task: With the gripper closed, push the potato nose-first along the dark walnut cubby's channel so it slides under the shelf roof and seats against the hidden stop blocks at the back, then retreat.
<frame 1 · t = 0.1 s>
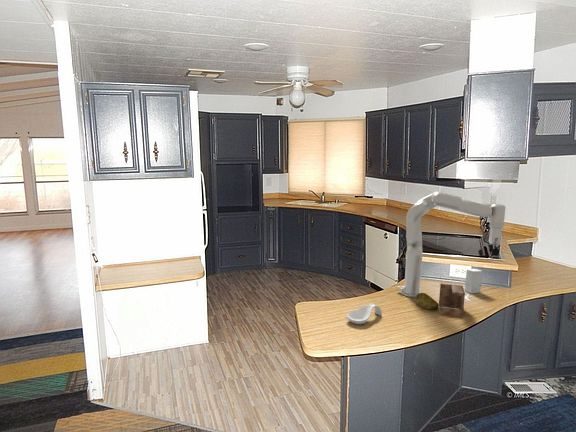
hand: (493, 253, 250), 31 cm above the table, fingers open, 9 cm apart
skincare box: (472, 292, 276), on the table
cubby: (450, 310, 242), on the table
spoon rest: (364, 320, 227), on the table
potato: (426, 308, 246), on the table
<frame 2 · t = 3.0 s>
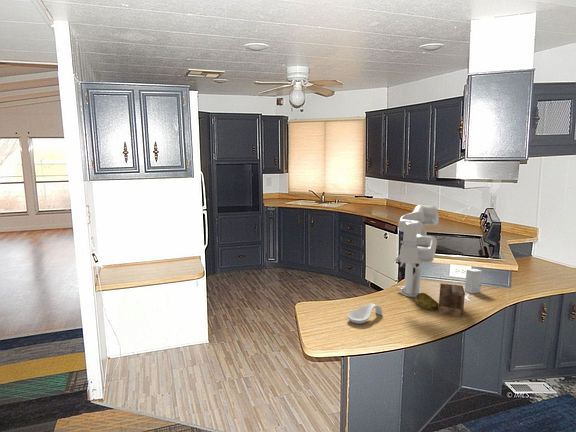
hand: (407, 273, 246), 20 cm above the table, fingers open, 5 cm apart
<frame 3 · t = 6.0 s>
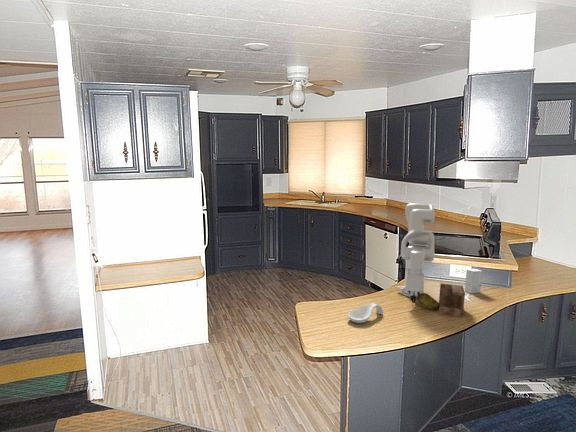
hand: (413, 301, 248), 3 cm above the table, fingers closed
potato: (427, 308, 246), on the table, touching gripper
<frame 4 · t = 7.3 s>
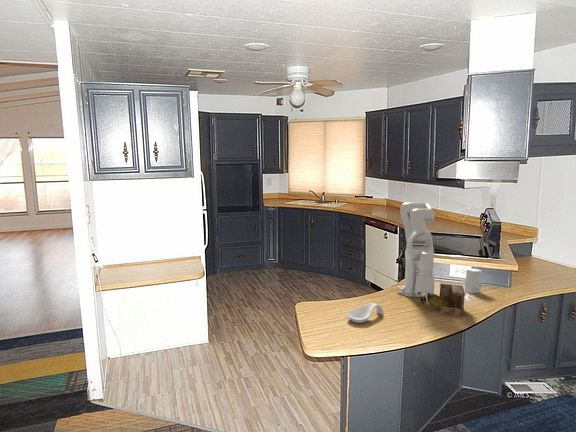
hand: (423, 302, 246), 3 cm above the table, fingers closed
potato: (437, 309, 244), on the table, touching gripper
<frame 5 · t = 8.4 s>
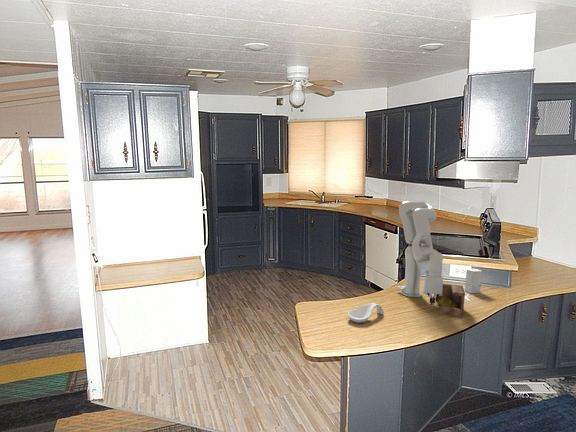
hand: (432, 304, 245), 3 cm above the table, fingers closed
potato: (446, 310, 243), on the table, touching gripper
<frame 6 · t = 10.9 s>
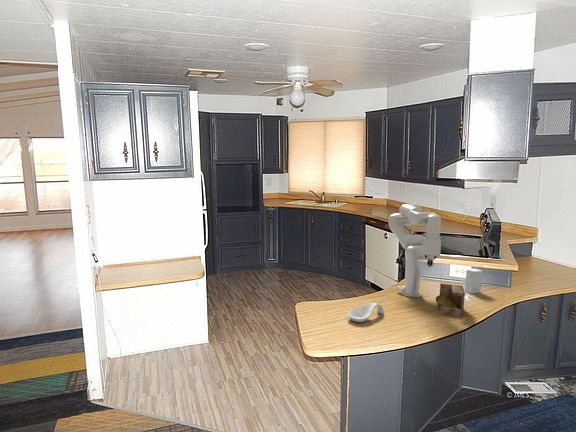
hand: (429, 266, 247), 24 cm above the table, fingers closed
potato: (446, 310, 243), on the table
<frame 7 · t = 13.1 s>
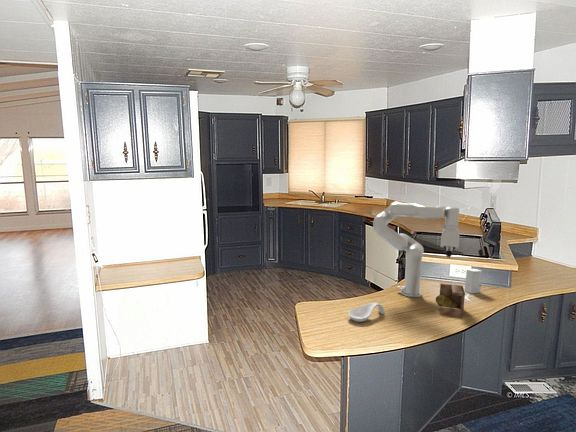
hand: (448, 256, 256), 27 cm above the table, fingers closed
at the end: potato inside the target area (0.4 cm from its centre), on the table; potato moved 10.9 cm from its start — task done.
